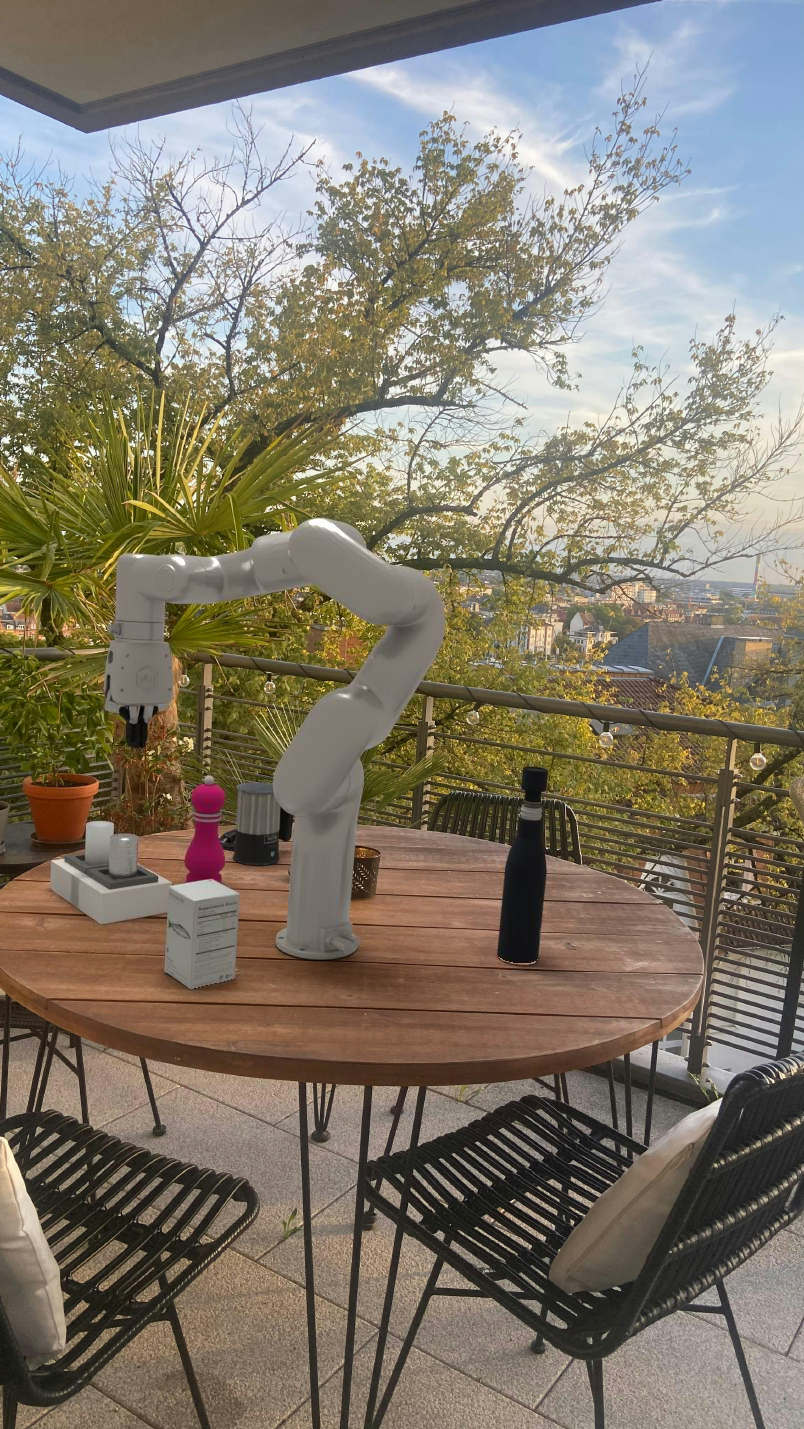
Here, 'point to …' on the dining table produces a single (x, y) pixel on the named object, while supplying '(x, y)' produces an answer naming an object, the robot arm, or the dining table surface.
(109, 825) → the socket block
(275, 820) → the milk frother
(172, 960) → the supplement box
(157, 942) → the dining table surface
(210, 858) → the pepper mill
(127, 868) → the peg
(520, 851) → the dark water bottle
